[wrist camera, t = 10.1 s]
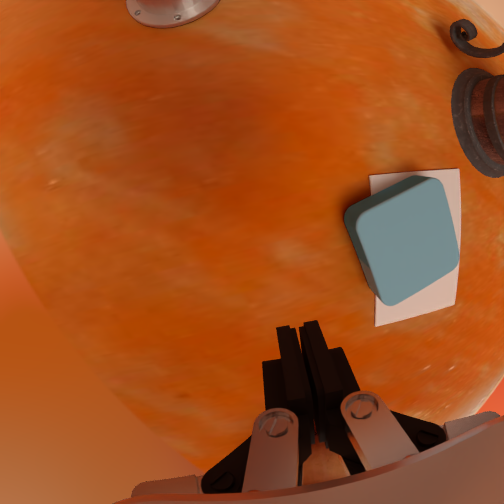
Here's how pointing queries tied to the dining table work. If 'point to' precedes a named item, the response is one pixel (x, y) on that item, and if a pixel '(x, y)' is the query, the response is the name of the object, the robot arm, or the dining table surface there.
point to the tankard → (478, 106)
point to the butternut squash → (322, 465)
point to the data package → (404, 237)
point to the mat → (443, 288)
